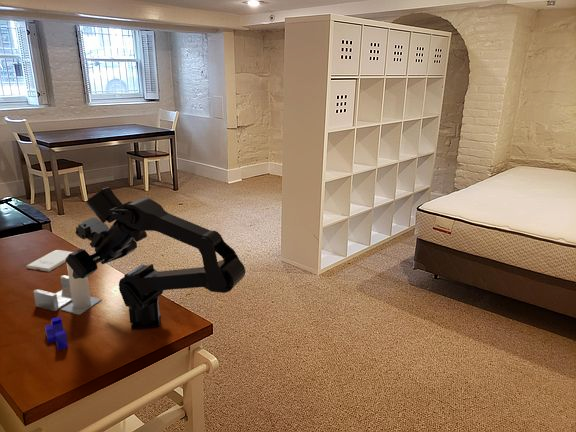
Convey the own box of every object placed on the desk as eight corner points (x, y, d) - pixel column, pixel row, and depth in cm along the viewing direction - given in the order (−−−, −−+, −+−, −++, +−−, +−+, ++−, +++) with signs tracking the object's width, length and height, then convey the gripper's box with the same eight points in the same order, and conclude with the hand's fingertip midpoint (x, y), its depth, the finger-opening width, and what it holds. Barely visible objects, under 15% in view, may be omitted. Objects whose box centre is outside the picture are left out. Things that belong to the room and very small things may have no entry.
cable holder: (46, 335, 102) (43, 320, 101) (62, 330, 104) (60, 316, 103) (50, 353, 96) (48, 338, 95) (68, 348, 98) (65, 333, 96)
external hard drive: (77, 256, 144) (49, 273, 132) (56, 253, 145) (26, 269, 134) (76, 252, 143) (48, 268, 132) (55, 249, 145) (26, 264, 133)
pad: (101, 300, 117) (101, 299, 117) (79, 314, 110) (79, 313, 110) (84, 295, 119) (84, 294, 119) (61, 310, 112) (60, 309, 112)
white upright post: (92, 299, 117) (86, 254, 113) (89, 307, 113) (82, 261, 109) (75, 300, 116) (68, 255, 112) (71, 309, 112) (63, 262, 108)
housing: (84, 293, 120) (82, 279, 119) (55, 311, 111) (52, 296, 110) (66, 289, 122) (63, 275, 121) (36, 306, 113) (33, 291, 112)
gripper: (123, 200, 111) (95, 233, 118) (65, 222, 95) (36, 259, 102) (151, 233, 111) (121, 264, 118) (98, 260, 95) (66, 295, 102)
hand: (88, 269), depth 110 cm, fingers open, 9 cm apart
